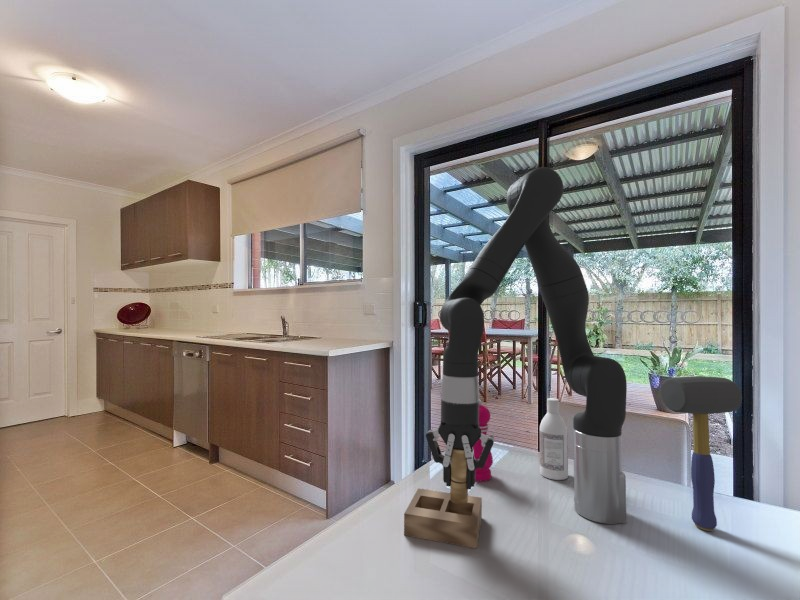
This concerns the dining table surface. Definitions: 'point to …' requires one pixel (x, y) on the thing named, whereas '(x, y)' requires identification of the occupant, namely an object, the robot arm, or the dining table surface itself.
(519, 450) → the dining table surface
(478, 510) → the board
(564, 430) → the bath foam
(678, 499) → the dining table surface
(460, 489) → the peg
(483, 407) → the pepper mill
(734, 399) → the rubber mallet
